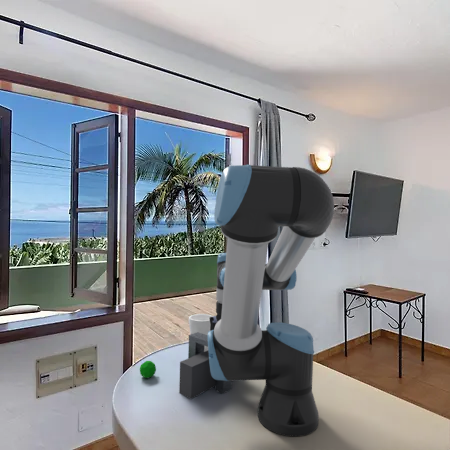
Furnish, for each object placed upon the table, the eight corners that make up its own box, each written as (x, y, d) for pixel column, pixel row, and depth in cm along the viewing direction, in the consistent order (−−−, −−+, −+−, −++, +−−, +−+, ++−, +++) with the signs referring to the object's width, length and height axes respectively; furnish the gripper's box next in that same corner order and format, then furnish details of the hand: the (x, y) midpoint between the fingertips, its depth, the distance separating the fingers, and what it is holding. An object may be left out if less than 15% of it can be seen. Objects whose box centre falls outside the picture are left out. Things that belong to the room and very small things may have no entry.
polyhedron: (138, 374, 109) (138, 359, 109) (153, 372, 111) (154, 357, 111) (141, 381, 104) (141, 366, 104) (157, 379, 106) (157, 363, 106)
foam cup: (191, 346, 134) (192, 313, 134) (214, 348, 133) (215, 314, 133) (185, 355, 125) (186, 320, 124) (210, 357, 123) (211, 321, 123)
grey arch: (231, 388, 101) (233, 343, 101) (223, 394, 98) (224, 347, 98) (196, 373, 111) (197, 332, 110) (187, 377, 107) (188, 335, 107)
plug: (239, 373, 111) (240, 346, 111) (192, 399, 95) (192, 367, 95) (226, 368, 115) (226, 341, 115) (178, 392, 98) (179, 361, 98)
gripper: (258, 304, 107) (256, 377, 107) (214, 294, 119) (212, 360, 119) (244, 308, 101) (241, 386, 102) (199, 298, 113) (197, 367, 114)
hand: (225, 372), depth 110 cm, fingers closed on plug, 5 cm apart
